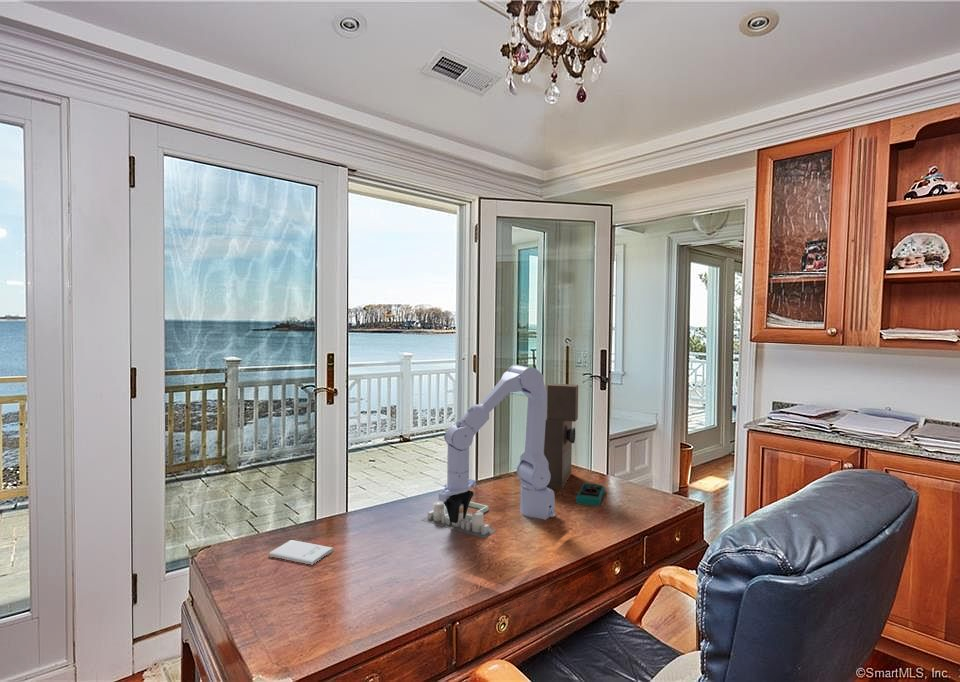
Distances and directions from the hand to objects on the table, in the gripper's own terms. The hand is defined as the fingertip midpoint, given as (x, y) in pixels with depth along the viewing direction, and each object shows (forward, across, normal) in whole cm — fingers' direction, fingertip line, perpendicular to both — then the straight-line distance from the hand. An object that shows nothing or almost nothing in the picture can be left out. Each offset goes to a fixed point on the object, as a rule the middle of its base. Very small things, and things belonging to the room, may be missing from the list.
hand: (457, 519), depth 138 cm
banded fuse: (+1, 0, 0) cm, 1 cm away
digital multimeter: (+3, -45, +20) cm, 49 cm away
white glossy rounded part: (+1, 0, -6) cm, 7 cm away
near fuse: (+1, 0, +6) cm, 7 cm away
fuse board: (+3, 0, 0) cm, 3 cm away
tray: (+3, -10, -4) cm, 10 cm away
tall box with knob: (+3, -54, +4) cm, 54 cm away
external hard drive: (+3, +33, -23) cm, 40 cm away
